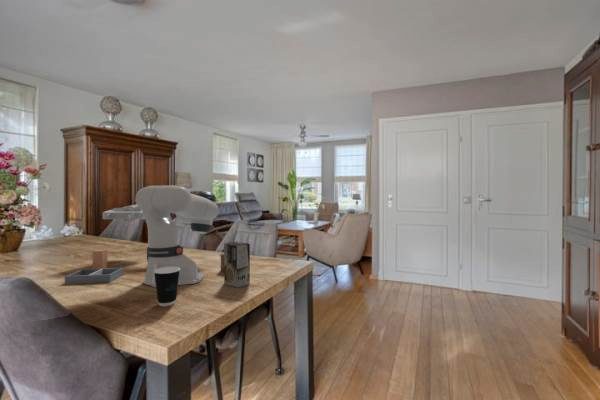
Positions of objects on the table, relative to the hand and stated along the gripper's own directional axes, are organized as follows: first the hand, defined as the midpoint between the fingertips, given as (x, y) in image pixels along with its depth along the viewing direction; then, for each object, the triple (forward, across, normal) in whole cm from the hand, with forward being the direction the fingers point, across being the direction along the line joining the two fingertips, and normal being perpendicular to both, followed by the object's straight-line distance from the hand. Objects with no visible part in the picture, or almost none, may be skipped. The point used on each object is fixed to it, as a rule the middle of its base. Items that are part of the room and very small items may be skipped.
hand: (117, 217), depth 145 cm
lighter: (+18, -57, -24) cm, 64 cm away
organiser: (+27, -4, -22) cm, 35 cm away
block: (+15, +1, -23) cm, 28 cm away
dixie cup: (+58, -43, -21) cm, 75 cm away
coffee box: (+38, -63, -22) cm, 77 cm away
